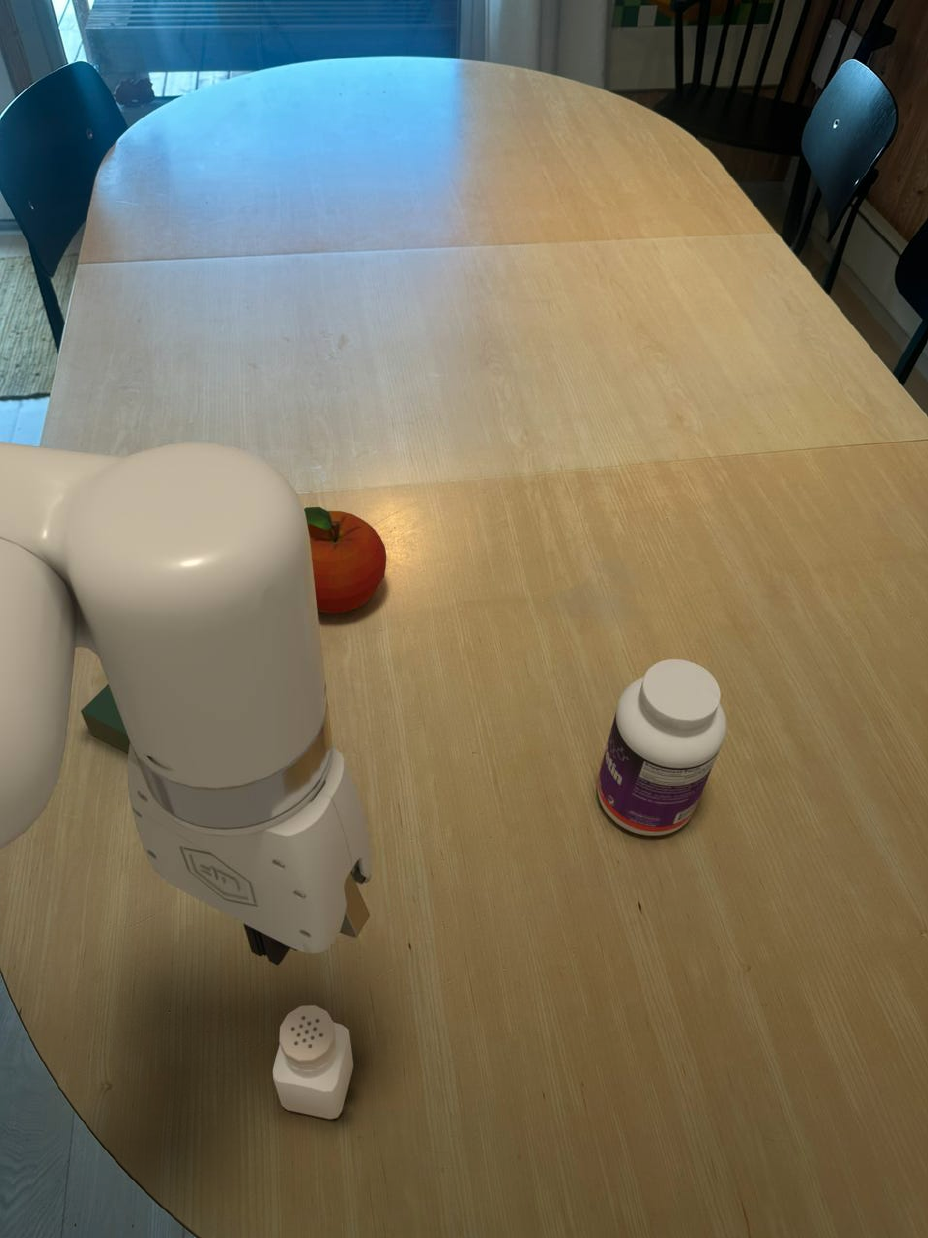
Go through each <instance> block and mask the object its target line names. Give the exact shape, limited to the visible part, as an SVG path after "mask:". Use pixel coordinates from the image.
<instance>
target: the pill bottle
mask: <svg viewBox="0 0 928 1238" xmlns="http://www.w3.org/2000/svg"><path fill="white" fill-rule="evenodd" d="M721 695H722V693H721V689H720V686H719V683H718V682H717V680H716V678H715V677H714V675H713V674H712V673H710V672H709V671H708V670H707V669H706V668H704V667H703V666H702V665H700V664H698V663H695V662H693V661H689V660H687V659H680V658H670V659H664V660H661V661H658V662H656V663H654V664H653V665H651V667H649V668H648V669H647V670H646V672H645V673H644V676H641V677H639V678H638V679H636V680H634V681H633V682H631V683H630V684H629V685H628V686H627V687H626V688H625V689H624V690H623V692H622V694H621V695H620V696H619V699H618V702H617V705H616V709H615V713H614V716H613V721H612V723H611V727H610V731H609V735H608V739H607V743H606V746H605V750H604V754H603V759H602V761H601V765H600V769H599V771H598V777H597V782H596V788H597V796H598V798H599V801H600V804H601V807H602V808H603V809H604V811H605V813H606V814H607V815H608V816H609V817H610V818H611V820H612V821H614V822H615V823H616V824H617V825H619V826H620V827H622V828H623V829H625V830H627V831H629V832H632V833H634V834H638V835H643V836H652V837H653V836H656V837H657V836H665V835H668V834H671V833H673V832H676V831H678V830H680V829H681V828H682V827H684V826H685V825H686V824H687V823H688V822H689V820H690V819H691V818H692V816H693V814H694V813H695V810H696V809H697V806H698V804H699V801H700V799H701V796H702V794H703V791H704V789H705V787H706V784H707V781H708V779H709V776H710V774H711V771H712V770H713V767H714V765H715V762H716V760H717V758H718V755H719V754H720V751H721V748H722V747H723V744H724V741H725V739H726V736H727V735H726V734H727V718H726V717H727V716H726V713H725V711H724V709H723V705H722V704H721V697H722V696H721Z"/></svg>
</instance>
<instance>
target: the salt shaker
mask: <svg viewBox="0 0 928 1238" xmlns="http://www.w3.org/2000/svg"><path fill="white" fill-rule="evenodd" d="M278 1041H279V1046H278V1049H277V1051H276V1056H275V1060H274V1064H273V1068H272V1078H273V1082H274V1086H275V1090H276V1093H277V1095H278V1098H279V1102H280V1105H281V1107H283V1108H284V1109H285V1110H287V1111H290V1112H294V1113H298V1114H299V1113H300V1114H304V1115H308V1116H314V1117H317V1118H322V1119H326V1120H335V1119H338V1118H339V1116H340V1115H341V1113H342V1112H343V1109H344V1104H345V1100H346V1097H347V1093H348V1090H349V1084H350V1081H351V1077H352V1073H353V1069H354V1061H353V1053H352V1044H351V1037H350V1030H349V1029H348V1028H347V1027H346V1026H344V1025H343V1024H340V1023H336V1022H334V1021H333V1019H332V1018H331V1016H330V1013H328V1011H327V1010H326V1009H323V1008H321V1007H319V1006H318V1005H315V1004H309V1005H300V1006H298V1007H297V1008H295V1009H293V1010H292V1011H290V1012H289V1013H287V1015H286V1016H285V1018H284V1020H283V1021H282V1023H281V1025H280V1026H279V1040H278Z"/></svg>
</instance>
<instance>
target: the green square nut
mask: <svg viewBox="0 0 928 1238" xmlns="http://www.w3.org/2000/svg"><path fill="white" fill-rule="evenodd" d="M80 713H81V715H82V717H83V721H84V723H85V725H86V727H87V730H88V732H89V734H90V735H91V736H94V737H95V738H97V739H99V740H102V742H105V743H107V744H109V745H111V746H112V747H114V748H116V749H119V750H120V751H122V752H124V753H126V754H128V755H129V746H130V740H129V737H128V735H127V732H126V729H125V727H124V724H123V721H122V719H121V716H120V713H119V711H118V708H117V705H116V702H115V700H114V697H113V694H112V692H111V689H110V686H109V684H108V683H107V684H106V685H105V686H104V687H103V688H102V689H101V690H100V691H99V692H98V693H97V694H96V695H95V696H94V697H93V698H92V699H91V700H90V701H89V702H88V703H87V704H86V705H85V706H84V707H82V709H81V710H80Z"/></svg>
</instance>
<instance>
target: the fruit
mask: <svg viewBox="0 0 928 1238" xmlns="http://www.w3.org/2000/svg"><path fill="white" fill-rule="evenodd" d="M304 511H305V514H306V520H307V525H308V531H309V536H310V544H311V554H312V563H313V573H314V582H315V592H316V601H317V611H318V612H321V613H324V614H344V613H348V612H352V611H353V610H355V609H357V608H359V607H361V606H363V605H365V604H366V603H367V602H368V601H369V600H370V599H371V598H372V597H374V595H375V594H376V592H377V590H378V588H379V587H380V585H381V583H382V581H383V579H384V578H385V573H386V568H387V552H386V546H385V544H384V542H383V540H382V538H381V536H380V535H379V533H378V531H377V530H376V529H375V528H374V527H373V526H372V525H371V524H369V523H368V522H367V521H365V520H364V519H362V518H361V517H359V516H357V515H355V514H353V513H350V512H346V511H342V510H326V509H325V508H322V507H321V506H309V507H307V506H306V507H305V508H304Z"/></svg>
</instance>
